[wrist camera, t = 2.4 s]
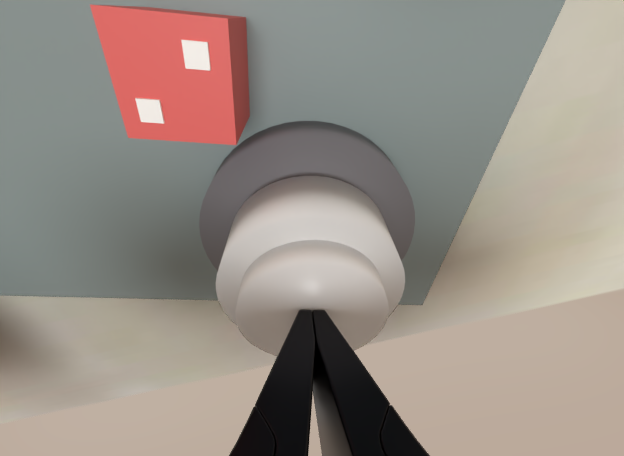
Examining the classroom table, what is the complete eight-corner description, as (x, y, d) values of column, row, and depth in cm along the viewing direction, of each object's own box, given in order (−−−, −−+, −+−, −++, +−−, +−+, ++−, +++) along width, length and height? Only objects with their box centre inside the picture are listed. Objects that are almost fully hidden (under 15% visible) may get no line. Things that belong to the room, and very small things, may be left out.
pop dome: (235, 295, 14) (219, 370, 11) (223, 170, 10) (192, 234, 7) (369, 298, 14) (387, 371, 11) (404, 181, 11) (445, 244, 8)
